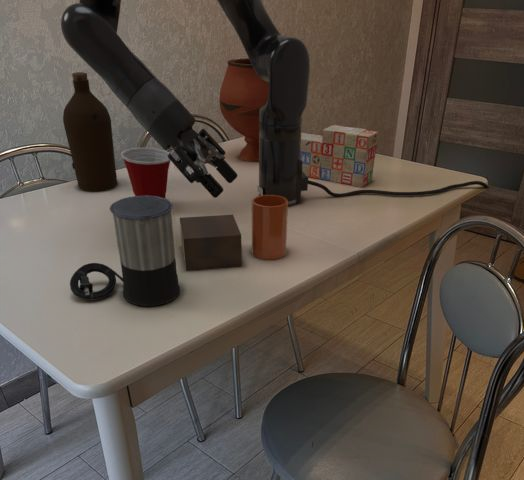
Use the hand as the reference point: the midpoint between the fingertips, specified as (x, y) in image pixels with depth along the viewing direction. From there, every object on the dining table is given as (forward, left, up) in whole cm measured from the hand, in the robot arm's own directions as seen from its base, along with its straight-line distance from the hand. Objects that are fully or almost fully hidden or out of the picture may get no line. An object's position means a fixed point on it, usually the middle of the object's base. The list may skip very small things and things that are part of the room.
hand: (227, 186), depth 95 cm
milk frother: (+19, +15, -12) cm, 27 cm away
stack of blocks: (-32, -40, -12) cm, 53 cm away
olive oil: (+27, -43, -12) cm, 52 cm away
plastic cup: (+14, -25, -12) cm, 31 cm away
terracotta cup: (-7, +3, -12) cm, 14 cm away
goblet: (-16, -62, -12) cm, 65 cm away
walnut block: (+4, +3, -12) cm, 13 cm away
